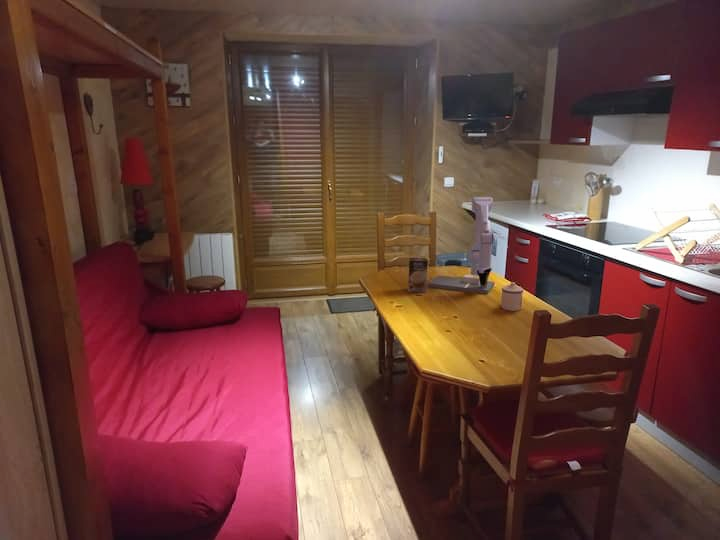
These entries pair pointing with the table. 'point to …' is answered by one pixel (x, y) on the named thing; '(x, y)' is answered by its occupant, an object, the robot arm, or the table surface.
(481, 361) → the table surface
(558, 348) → the table surface
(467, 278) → the stud finder
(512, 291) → the teacup with lid
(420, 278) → the coffee box
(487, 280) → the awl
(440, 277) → the subfloor board
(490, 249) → the robot arm
